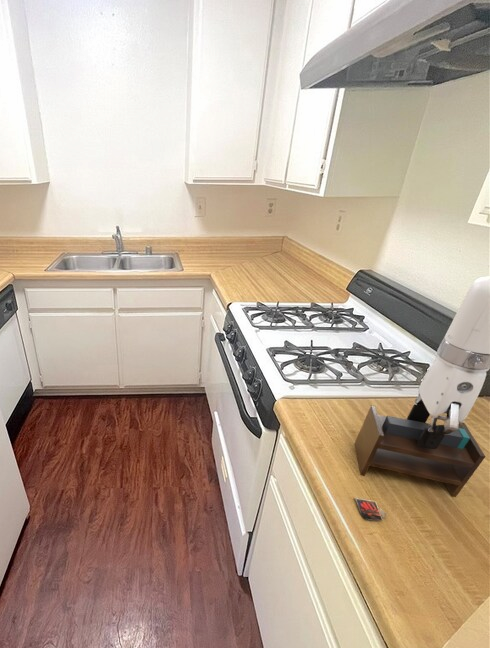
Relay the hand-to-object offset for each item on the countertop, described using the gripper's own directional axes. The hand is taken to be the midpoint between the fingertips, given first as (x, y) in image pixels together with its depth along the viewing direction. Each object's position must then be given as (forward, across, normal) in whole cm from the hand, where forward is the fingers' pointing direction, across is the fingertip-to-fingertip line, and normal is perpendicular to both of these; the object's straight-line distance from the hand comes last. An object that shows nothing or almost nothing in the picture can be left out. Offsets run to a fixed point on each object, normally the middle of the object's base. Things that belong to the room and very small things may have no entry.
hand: (420, 433), depth 68 cm
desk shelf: (+10, 0, 0) cm, 10 cm away
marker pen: (+1, 0, 0) cm, 1 cm away
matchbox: (+10, -14, +8) cm, 19 cm away
